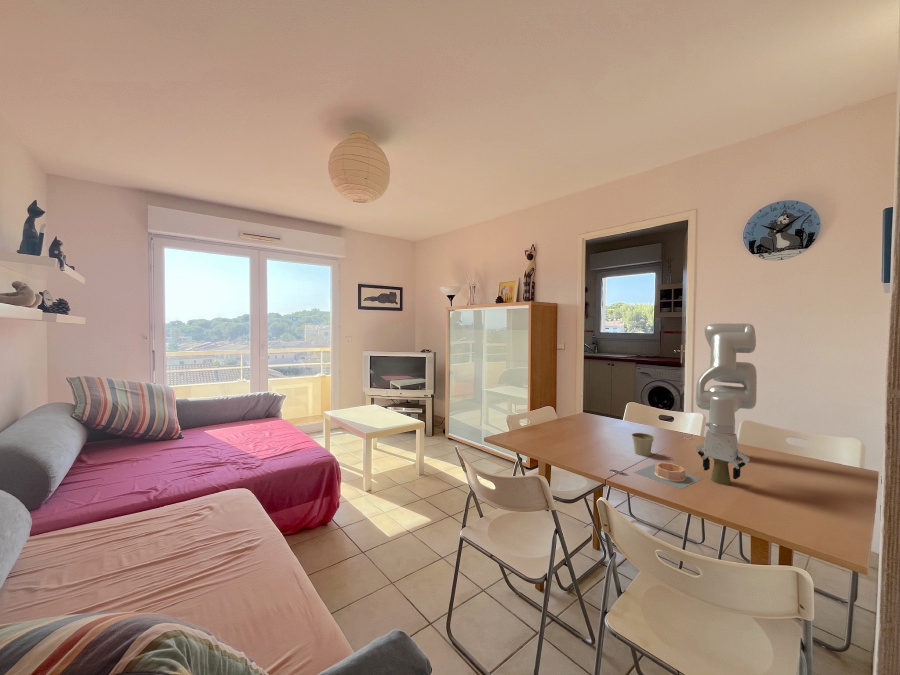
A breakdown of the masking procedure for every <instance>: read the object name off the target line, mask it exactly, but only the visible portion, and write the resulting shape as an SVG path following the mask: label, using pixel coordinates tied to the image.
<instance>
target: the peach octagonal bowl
mask: <svg viewBox="0 0 900 675" xmlns="http://www.w3.org/2000/svg"><path fill="white" fill-rule="evenodd" d="M685 473H686V469H685V468H684V467H683V466H681V465H678V464H676V463H672V462H657V463H655V476H656V477H658V478H660V479H663V480H666V481H671V482H683V481H685V479H686V478H685Z"/></svg>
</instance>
